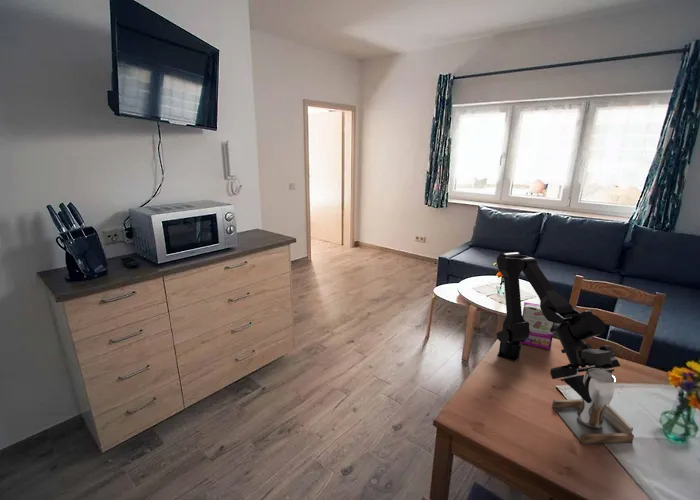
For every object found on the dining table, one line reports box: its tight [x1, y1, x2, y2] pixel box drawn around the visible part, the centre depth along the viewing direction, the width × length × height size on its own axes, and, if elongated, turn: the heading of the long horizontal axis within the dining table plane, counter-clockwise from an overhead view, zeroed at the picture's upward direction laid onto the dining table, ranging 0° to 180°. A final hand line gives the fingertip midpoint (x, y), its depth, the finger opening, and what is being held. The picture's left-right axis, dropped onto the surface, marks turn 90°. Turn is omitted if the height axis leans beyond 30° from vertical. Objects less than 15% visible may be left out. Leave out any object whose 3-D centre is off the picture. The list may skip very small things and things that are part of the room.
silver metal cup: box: [577, 368, 617, 428], centre depth 93 cm, size 7×7×15 cm
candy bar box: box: [520, 301, 556, 351], centre depth 132 cm, size 11×5×16 cm, turn 62°
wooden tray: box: [551, 399, 635, 445], centre depth 95 cm, size 13×13×4 cm
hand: (599, 400), depth 92 cm, fingers closed on silver metal cup, 6 cm apart
